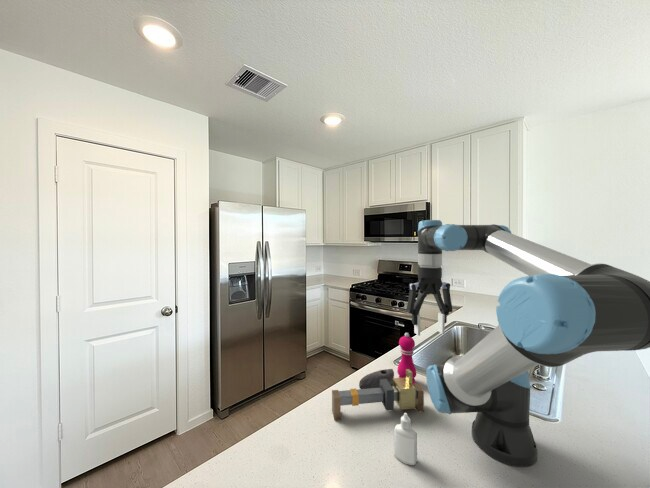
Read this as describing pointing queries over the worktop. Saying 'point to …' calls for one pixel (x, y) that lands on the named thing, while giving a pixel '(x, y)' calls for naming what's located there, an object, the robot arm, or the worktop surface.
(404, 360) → the pepper mill
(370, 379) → the perforated stone tool
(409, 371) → the sleeve
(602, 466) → the worktop surface
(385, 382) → the ring
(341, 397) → the bar clamp
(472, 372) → the robot arm
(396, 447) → the eye dropper bottle
